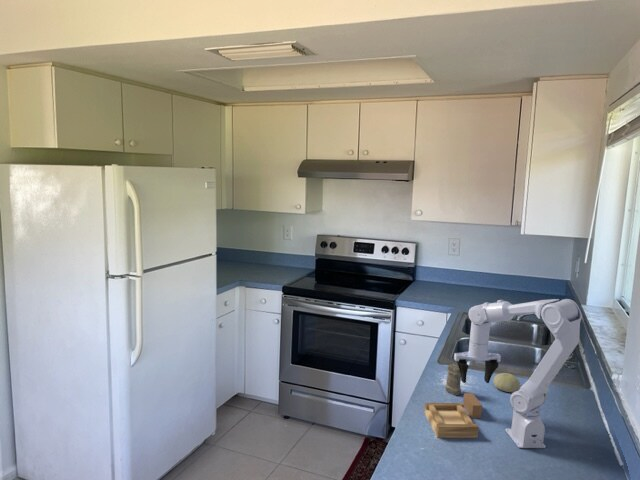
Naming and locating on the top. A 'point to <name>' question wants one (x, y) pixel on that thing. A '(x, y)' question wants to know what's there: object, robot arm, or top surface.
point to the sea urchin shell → (506, 382)
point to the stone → (453, 379)
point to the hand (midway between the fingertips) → (475, 381)
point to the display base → (450, 420)
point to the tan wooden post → (472, 405)
